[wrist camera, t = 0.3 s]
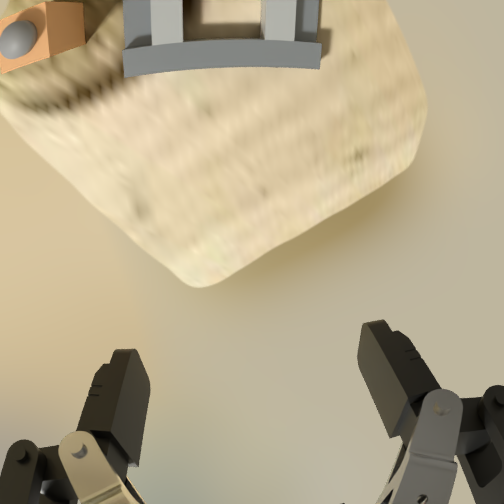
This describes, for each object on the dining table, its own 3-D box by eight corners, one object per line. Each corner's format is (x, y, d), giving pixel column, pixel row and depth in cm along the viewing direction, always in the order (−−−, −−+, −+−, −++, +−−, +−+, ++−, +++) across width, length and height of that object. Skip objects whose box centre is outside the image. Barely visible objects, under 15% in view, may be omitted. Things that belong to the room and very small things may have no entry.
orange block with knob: (45, 55, 24) (-6, 77, 16) (41, 15, 21) (-12, 23, 13) (85, 43, 25) (44, 59, 17) (83, 2, 21) (39, 1, 13)
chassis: (128, 73, 28) (124, 77, 27) (124, -43, 19) (119, -48, 17) (311, 65, 31) (319, 69, 29) (318, -45, 22) (327, -48, 20)
